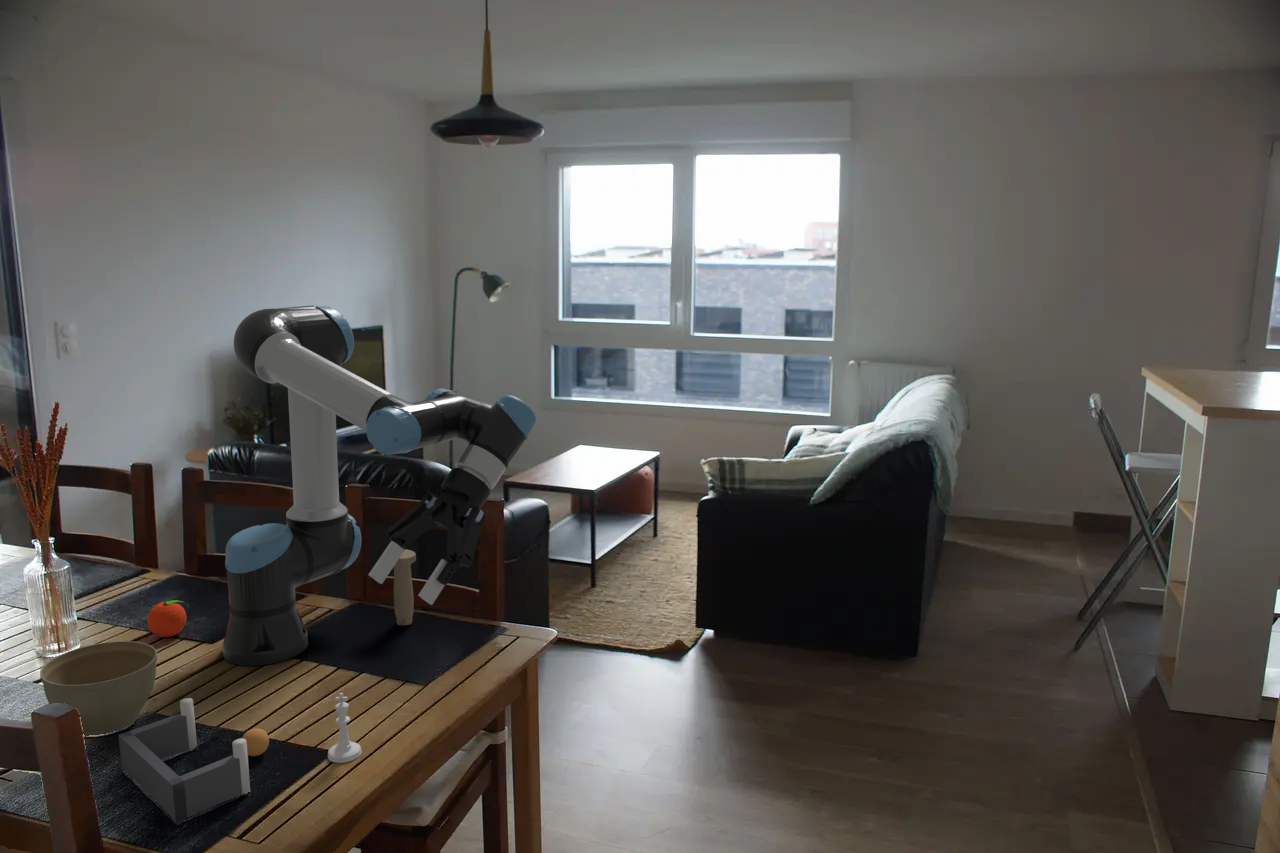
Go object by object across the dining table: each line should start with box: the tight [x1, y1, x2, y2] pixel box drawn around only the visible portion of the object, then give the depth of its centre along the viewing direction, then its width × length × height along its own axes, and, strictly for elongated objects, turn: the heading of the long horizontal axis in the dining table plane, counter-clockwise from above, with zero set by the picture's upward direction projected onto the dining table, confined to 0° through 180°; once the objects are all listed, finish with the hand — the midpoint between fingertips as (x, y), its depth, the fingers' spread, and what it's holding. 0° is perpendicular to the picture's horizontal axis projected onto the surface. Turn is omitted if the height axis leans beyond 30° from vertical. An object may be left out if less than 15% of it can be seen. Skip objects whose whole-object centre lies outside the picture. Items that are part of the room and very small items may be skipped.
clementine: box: [146, 599, 189, 638], centre depth 183 cm, size 8×7×7 cm
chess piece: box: [327, 692, 363, 764], centre depth 140 cm, size 5×5×10 cm
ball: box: [241, 727, 270, 757], centre depth 140 cm, size 4×4×4 cm
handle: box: [393, 548, 417, 627], centre depth 189 cm, size 5×6×15 cm
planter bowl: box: [39, 640, 158, 738], centre depth 148 cm, size 16×16×11 cm
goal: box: [118, 697, 251, 822], centre depth 133 cm, size 10×19×8 cm, turn 48°
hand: (399, 589), depth 144 cm, fingers open, 13 cm apart
